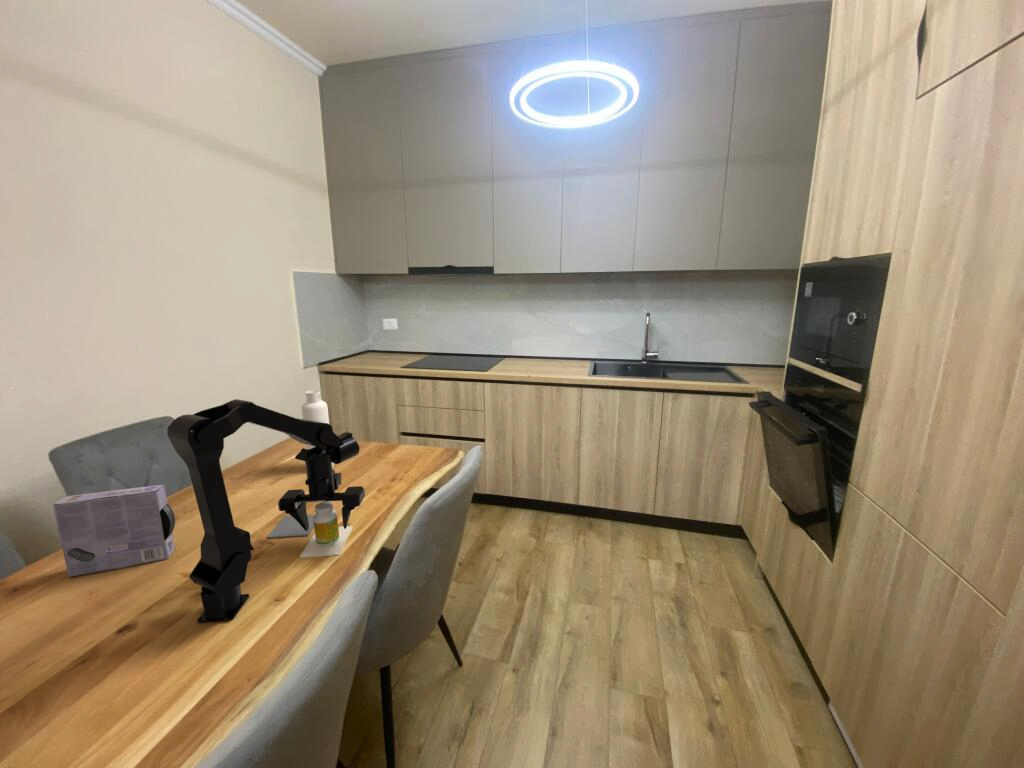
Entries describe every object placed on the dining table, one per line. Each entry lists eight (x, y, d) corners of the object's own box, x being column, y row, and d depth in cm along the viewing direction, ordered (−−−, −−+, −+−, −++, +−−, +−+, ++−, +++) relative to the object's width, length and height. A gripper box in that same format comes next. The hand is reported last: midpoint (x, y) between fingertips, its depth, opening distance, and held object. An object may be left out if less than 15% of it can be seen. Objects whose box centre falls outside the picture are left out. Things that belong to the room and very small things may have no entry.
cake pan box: (182, 546, 100) (168, 481, 96) (174, 558, 96) (159, 490, 92) (81, 565, 94) (61, 495, 90) (67, 579, 89) (46, 506, 85)
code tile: (339, 555, 97) (339, 554, 97) (299, 558, 96) (299, 556, 96) (353, 526, 108) (353, 525, 108) (318, 529, 107) (317, 528, 107)
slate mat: (307, 536, 104) (307, 534, 104) (266, 538, 103) (266, 537, 103) (321, 515, 114) (321, 513, 114) (284, 517, 113) (283, 516, 113)
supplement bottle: (330, 548, 99) (326, 512, 97) (311, 545, 100) (306, 510, 98) (344, 535, 104) (340, 501, 102) (325, 533, 105) (321, 499, 103)
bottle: (311, 464, 147) (301, 389, 141) (335, 461, 150) (327, 388, 143) (307, 473, 140) (297, 395, 134) (332, 470, 142) (324, 393, 136)
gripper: (367, 456, 106) (372, 510, 110) (293, 459, 105) (300, 514, 108) (356, 475, 96) (361, 533, 99) (273, 479, 94) (281, 538, 97)
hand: (326, 529), depth 101 cm, fingers open, 9 cm apart
